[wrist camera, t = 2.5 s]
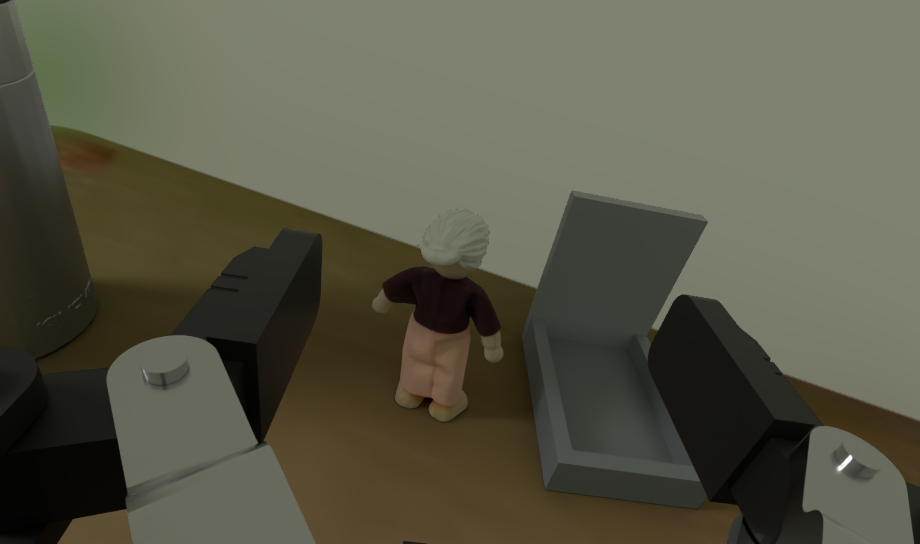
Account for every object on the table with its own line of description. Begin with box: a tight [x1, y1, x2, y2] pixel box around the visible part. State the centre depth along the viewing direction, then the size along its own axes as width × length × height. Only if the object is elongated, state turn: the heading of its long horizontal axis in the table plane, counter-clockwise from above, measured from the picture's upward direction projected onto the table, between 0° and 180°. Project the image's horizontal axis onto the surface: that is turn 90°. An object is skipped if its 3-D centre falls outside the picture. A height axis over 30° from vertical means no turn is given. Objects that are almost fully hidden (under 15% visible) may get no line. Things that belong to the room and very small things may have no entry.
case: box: [522, 191, 708, 509], centre depth 28 cm, size 9×13×12 cm
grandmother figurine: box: [372, 209, 503, 422], centre depth 26 cm, size 8×4×13 cm, turn 81°
